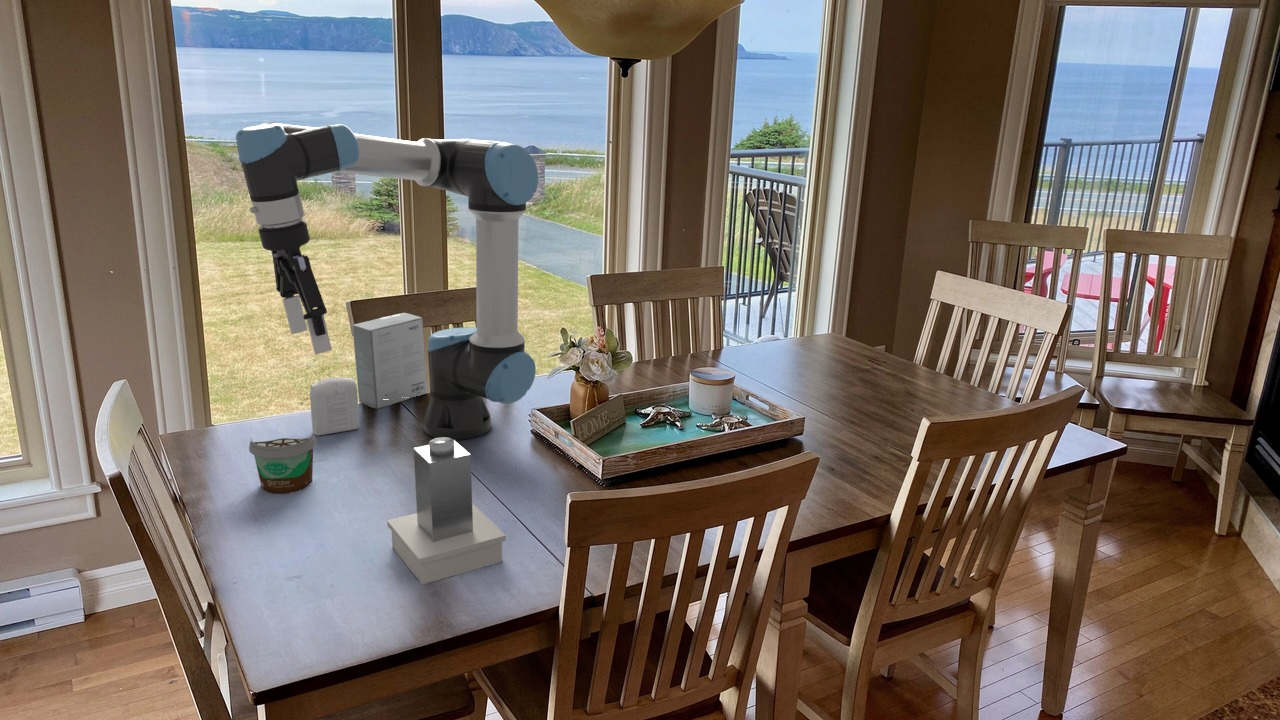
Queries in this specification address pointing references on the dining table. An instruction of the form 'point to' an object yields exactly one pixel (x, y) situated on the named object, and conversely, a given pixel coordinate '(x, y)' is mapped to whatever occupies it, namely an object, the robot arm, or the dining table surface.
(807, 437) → the dining table surface
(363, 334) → the hard drive box
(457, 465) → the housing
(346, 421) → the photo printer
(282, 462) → the food container
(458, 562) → the plinth
